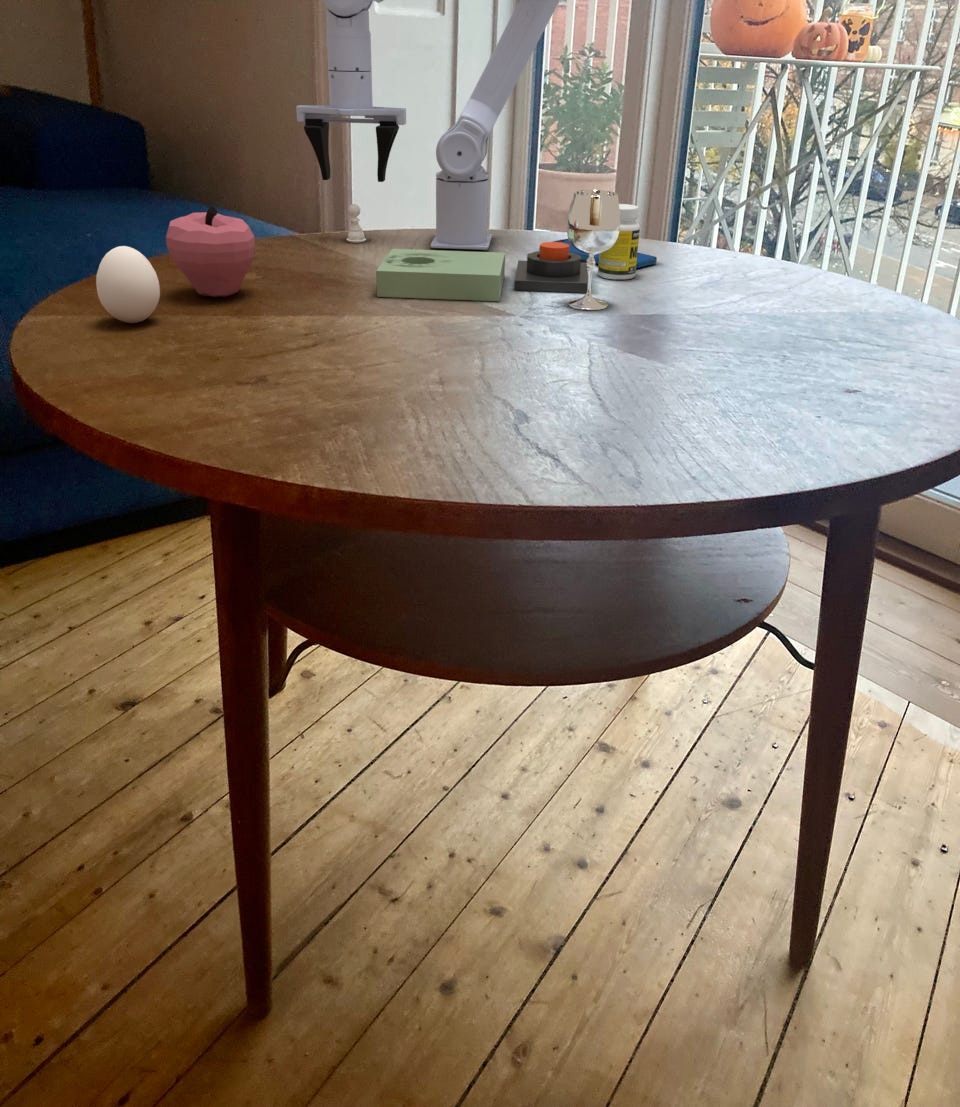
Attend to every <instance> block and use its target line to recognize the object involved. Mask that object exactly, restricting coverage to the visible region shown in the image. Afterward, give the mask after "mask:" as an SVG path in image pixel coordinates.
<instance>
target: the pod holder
mask: <svg viewBox="0 0 960 1107" xmlns="http://www.w3.org/2000/svg"><path fill="white" fill-rule="evenodd" d="M505 270H506V252H496V251H495V252H493V251H492V252H491V251H466V250H465V251H464V250H435V249H412V248H411V249H409V248H391V250H390V251H389V252H388V253H387V255H386V256H385V258H384V259H383V260H382V262H381V264H379V266H378V268H376V272H375V274H376V296H377V298H396V299H421V300H422V299H423V300H425V299H426V300H447V301H473V302H500V299H501V295H502V291H503V285H504V282H505Z"/></svg>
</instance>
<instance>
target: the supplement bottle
mask: <svg viewBox="0 0 960 1107" xmlns="http://www.w3.org/2000/svg"><path fill="white" fill-rule="evenodd" d="M619 208H620V231H619V236H618V239H617V241H616V243H615V244H614V245H613V246H612V247H611V248H610V249H609V250H607V251H605V252H602V253H599V264H598V265H597V266H598V267H597V274H598V276H599V277H601V278H604V279H608V280H621V281H622V280H623V281H624V280H630V279H633V278H635V277H636V271H637V268H636V263H637V252H638V250H639V239H640V232H641V228H640V227H641V226H640V224H639V223H638V222H637V220H639V211H640V210H639V209H640V207H639V206H638V205H635V204H628V203H619ZM638 253H639V252H638Z"/></svg>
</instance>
